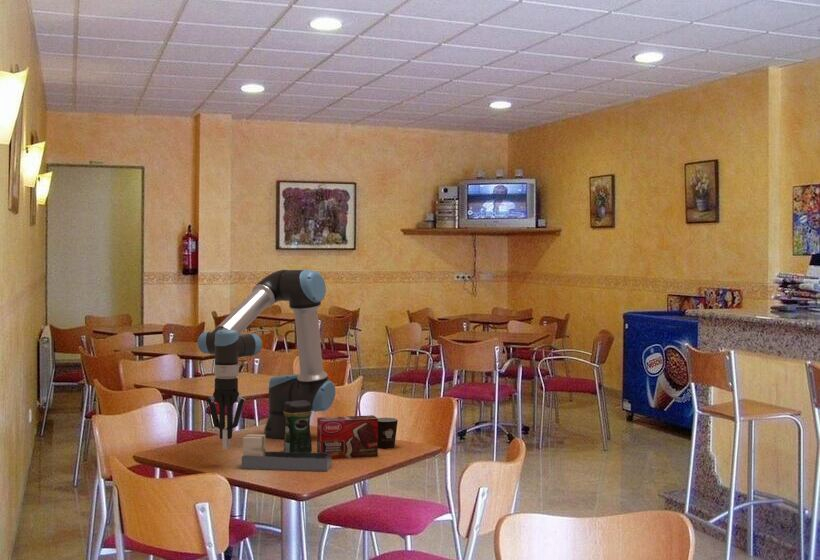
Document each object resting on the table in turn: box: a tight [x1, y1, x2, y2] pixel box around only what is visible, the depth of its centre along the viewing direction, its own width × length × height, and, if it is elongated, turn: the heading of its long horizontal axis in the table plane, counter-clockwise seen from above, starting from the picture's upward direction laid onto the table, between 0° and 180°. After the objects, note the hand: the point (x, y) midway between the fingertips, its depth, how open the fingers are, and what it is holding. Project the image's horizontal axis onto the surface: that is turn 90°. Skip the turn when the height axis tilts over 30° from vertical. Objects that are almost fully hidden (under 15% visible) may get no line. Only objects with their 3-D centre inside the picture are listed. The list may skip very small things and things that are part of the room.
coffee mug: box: [377, 417, 399, 450], centre depth 333 cm, size 12×9×10 cm
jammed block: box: [242, 433, 266, 456], centre depth 300 cm, size 6×6×8 cm
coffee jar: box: [283, 400, 313, 453], centre depth 320 cm, size 10×8×19 cm
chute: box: [241, 450, 333, 472], centre depth 299 cm, size 9×28×4 cm, turn 85°
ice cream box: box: [316, 414, 379, 460], centre depth 317 cm, size 20×6×13 cm, turn 107°
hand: (225, 448), depth 301 cm, fingers closed
